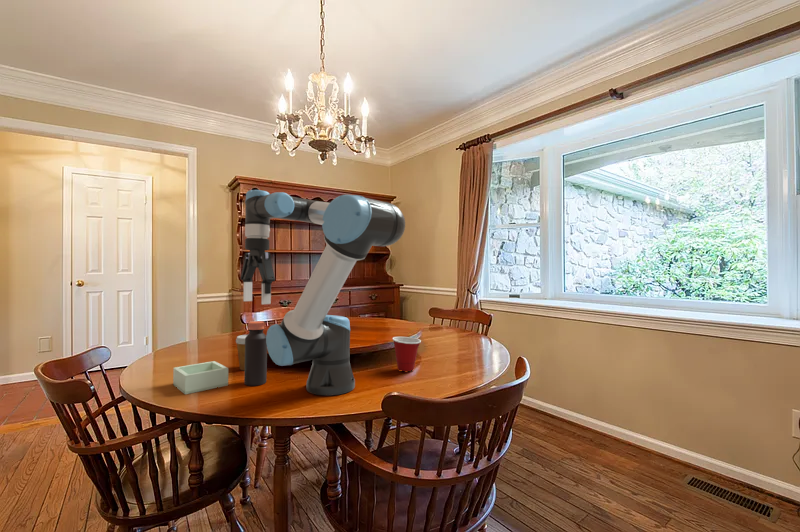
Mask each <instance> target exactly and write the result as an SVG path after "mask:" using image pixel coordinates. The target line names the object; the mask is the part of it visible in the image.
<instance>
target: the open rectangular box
mask: <svg viewBox="0 0 800 532" xmlns="http://www.w3.org/2000/svg"><path fill="white" fill-rule="evenodd" d="M172 368H173V379H172V381H173V382H172V386H174V387H175V388H176V387H177V390H179V391H180V392H181V393H183V394H184V395H189V394H190V395H191V394H195V393H198V392H203V391H206V390H207V391H208V390H212V389H216V388H217V387H218V388H222V387H226V386H228V385H229V367H227V366H225V365H224V364H221V363H219V362H218V361H215V360H213V361H206V362H200V363H193V364H188V365H183V366H175V367H172Z"/></svg>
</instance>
